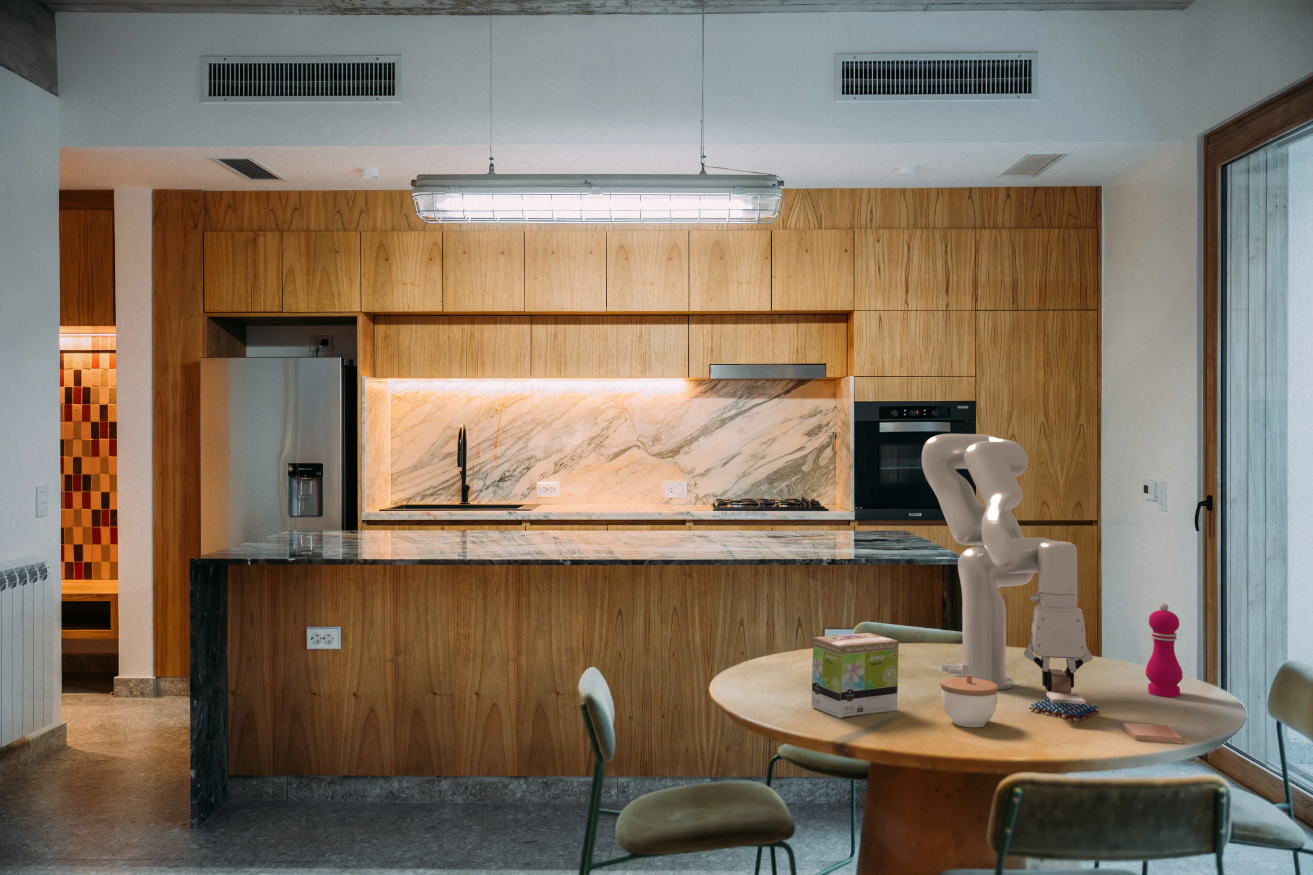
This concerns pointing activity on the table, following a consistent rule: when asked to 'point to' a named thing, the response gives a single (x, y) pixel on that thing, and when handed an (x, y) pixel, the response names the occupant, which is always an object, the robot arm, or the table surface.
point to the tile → (1151, 732)
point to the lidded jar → (969, 700)
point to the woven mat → (1064, 709)
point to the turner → (1062, 689)
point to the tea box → (854, 674)
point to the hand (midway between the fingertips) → (1058, 689)
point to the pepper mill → (1164, 654)
